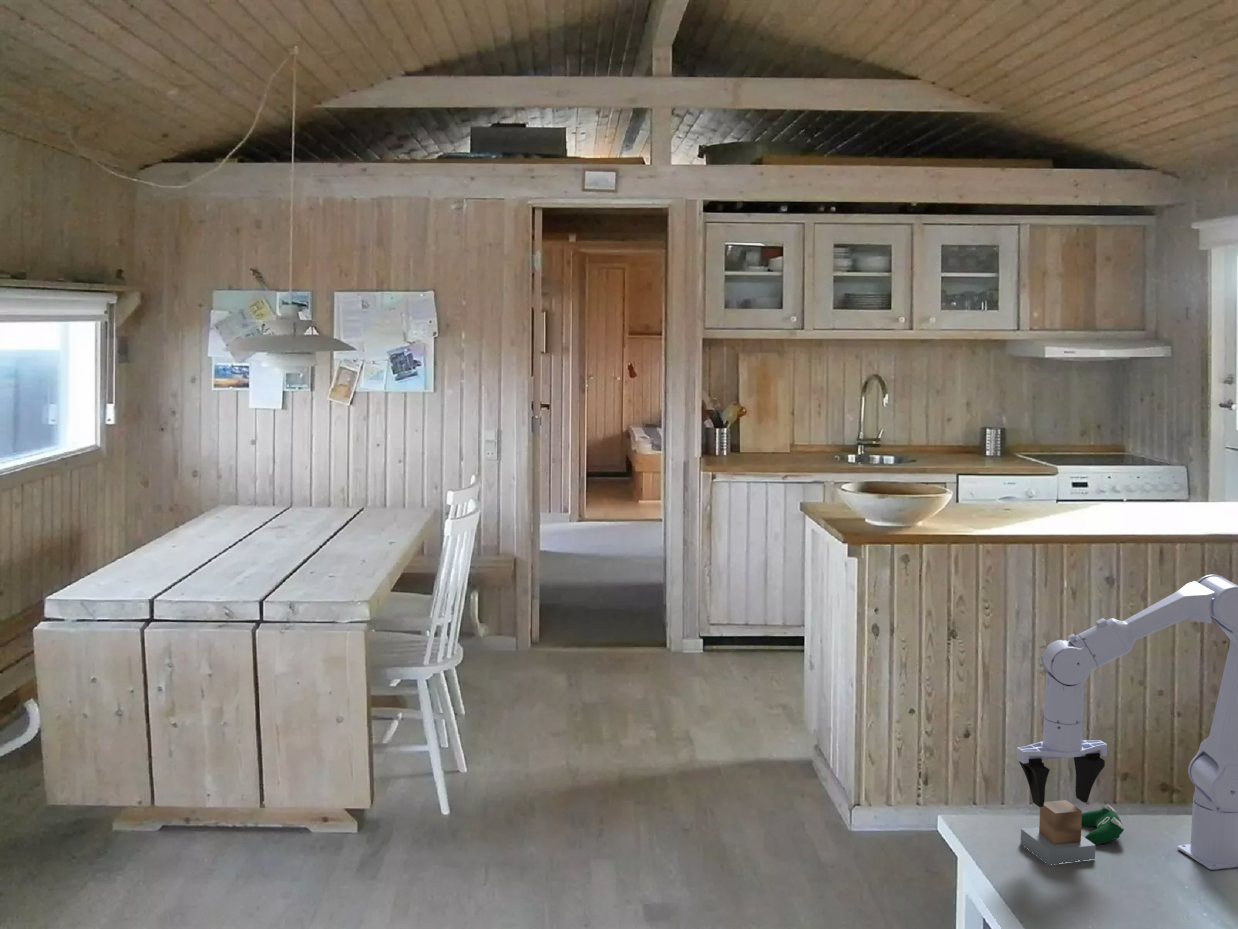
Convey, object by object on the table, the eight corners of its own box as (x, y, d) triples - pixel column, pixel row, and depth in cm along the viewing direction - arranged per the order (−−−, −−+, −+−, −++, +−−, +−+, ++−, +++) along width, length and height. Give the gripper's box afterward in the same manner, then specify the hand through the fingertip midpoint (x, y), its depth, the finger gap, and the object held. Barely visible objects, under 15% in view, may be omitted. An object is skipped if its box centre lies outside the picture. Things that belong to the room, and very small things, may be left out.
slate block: (1065, 841, 195) (1065, 824, 194) (1094, 863, 187) (1095, 845, 187) (1020, 846, 193) (1021, 828, 193) (1048, 868, 185) (1049, 850, 185)
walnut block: (1065, 830, 192) (1066, 800, 192) (1080, 841, 188) (1081, 811, 187) (1039, 832, 191) (1040, 802, 191) (1054, 844, 187) (1055, 813, 186)
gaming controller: (1100, 858, 192) (1130, 835, 191) (1083, 840, 192) (1113, 817, 191) (1090, 834, 201) (1118, 812, 200) (1074, 817, 201) (1102, 795, 200)
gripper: (1089, 707, 193) (1086, 788, 194) (1007, 713, 190) (1004, 796, 191) (1116, 721, 186) (1112, 805, 187) (1031, 728, 183) (1028, 814, 184)
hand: (1059, 802), depth 189 cm, fingers open, 7 cm apart
